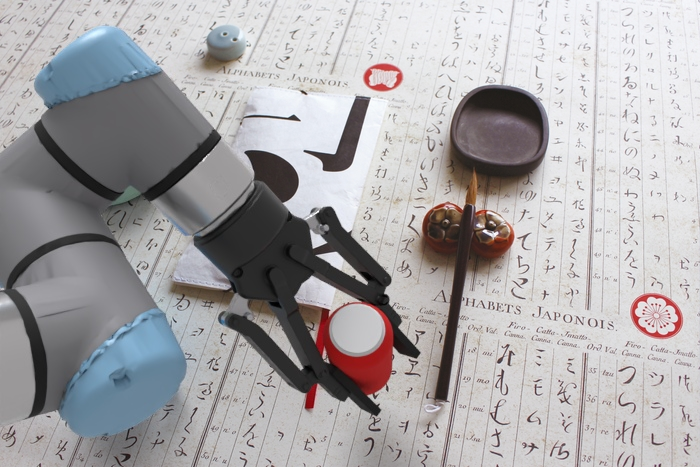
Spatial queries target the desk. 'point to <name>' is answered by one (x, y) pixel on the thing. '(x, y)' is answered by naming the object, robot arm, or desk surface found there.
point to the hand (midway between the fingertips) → (390, 380)
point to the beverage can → (360, 344)
